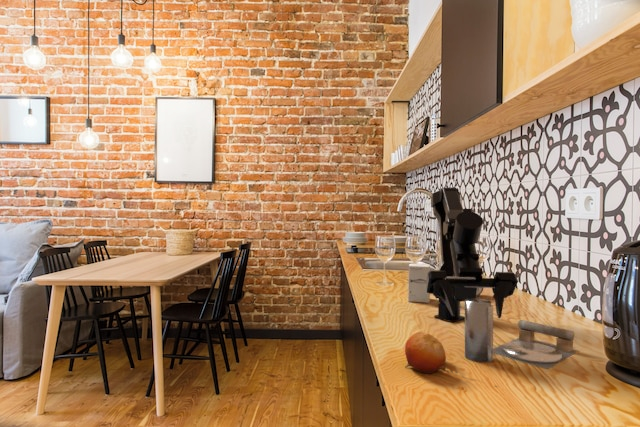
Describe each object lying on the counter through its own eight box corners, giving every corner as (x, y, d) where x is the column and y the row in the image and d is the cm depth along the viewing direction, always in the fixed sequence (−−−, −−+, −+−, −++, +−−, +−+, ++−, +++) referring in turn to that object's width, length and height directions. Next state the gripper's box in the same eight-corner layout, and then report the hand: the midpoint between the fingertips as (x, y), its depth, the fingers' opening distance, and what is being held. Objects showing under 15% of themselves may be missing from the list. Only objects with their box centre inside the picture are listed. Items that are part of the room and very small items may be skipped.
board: (521, 341, 94) (521, 336, 94) (578, 355, 84) (578, 350, 84) (487, 356, 84) (487, 351, 84) (547, 375, 74) (547, 369, 74)
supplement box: (407, 302, 135) (407, 265, 134) (409, 297, 142) (409, 262, 142) (429, 303, 132) (429, 266, 132) (430, 298, 139) (430, 263, 139)
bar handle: (517, 339, 91) (517, 320, 91) (522, 337, 93) (522, 318, 93) (570, 353, 83) (570, 332, 83) (574, 350, 84) (574, 330, 84)
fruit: (407, 349, 84) (425, 321, 82) (437, 376, 80) (457, 348, 77) (388, 360, 78) (407, 330, 75) (420, 390, 74) (441, 360, 71)
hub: (471, 354, 85) (471, 295, 85) (502, 364, 80) (502, 301, 80) (453, 362, 81) (453, 300, 81) (484, 373, 75) (485, 306, 75)
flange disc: (517, 341, 90) (517, 338, 90) (570, 355, 81) (570, 351, 81) (493, 352, 83) (493, 348, 83) (548, 368, 75) (548, 364, 75)
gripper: (499, 279, 96) (514, 337, 85) (422, 277, 99) (427, 333, 88) (509, 250, 89) (528, 310, 78) (425, 249, 91) (432, 306, 80)
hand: (476, 316), depth 81 cm, fingers open, 9 cm apart
